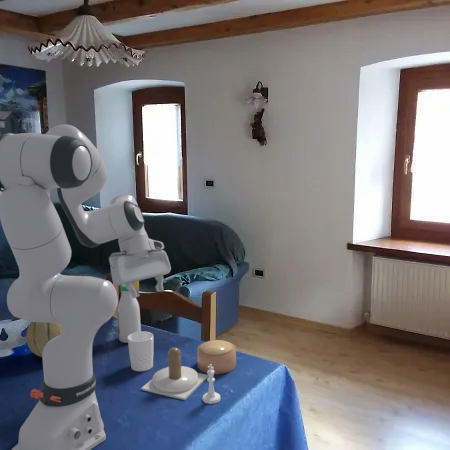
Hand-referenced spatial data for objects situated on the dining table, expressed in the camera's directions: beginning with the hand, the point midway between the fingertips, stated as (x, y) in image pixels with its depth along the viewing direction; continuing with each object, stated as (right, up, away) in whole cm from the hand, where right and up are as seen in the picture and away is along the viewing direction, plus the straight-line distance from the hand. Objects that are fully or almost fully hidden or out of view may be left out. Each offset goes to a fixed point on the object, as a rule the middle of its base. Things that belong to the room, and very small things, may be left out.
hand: (148, 294), depth 141 cm
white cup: (-3, -24, +9) cm, 26 cm away
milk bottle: (-11, -20, +30) cm, 38 cm away
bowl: (+20, -23, +9) cm, 32 cm away
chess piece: (+19, -27, -11) cm, 35 cm away
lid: (+8, -25, -2) cm, 26 cm away
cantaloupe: (-35, -23, +18) cm, 45 cm away
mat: (+8, -25, -2) cm, 27 cm away
